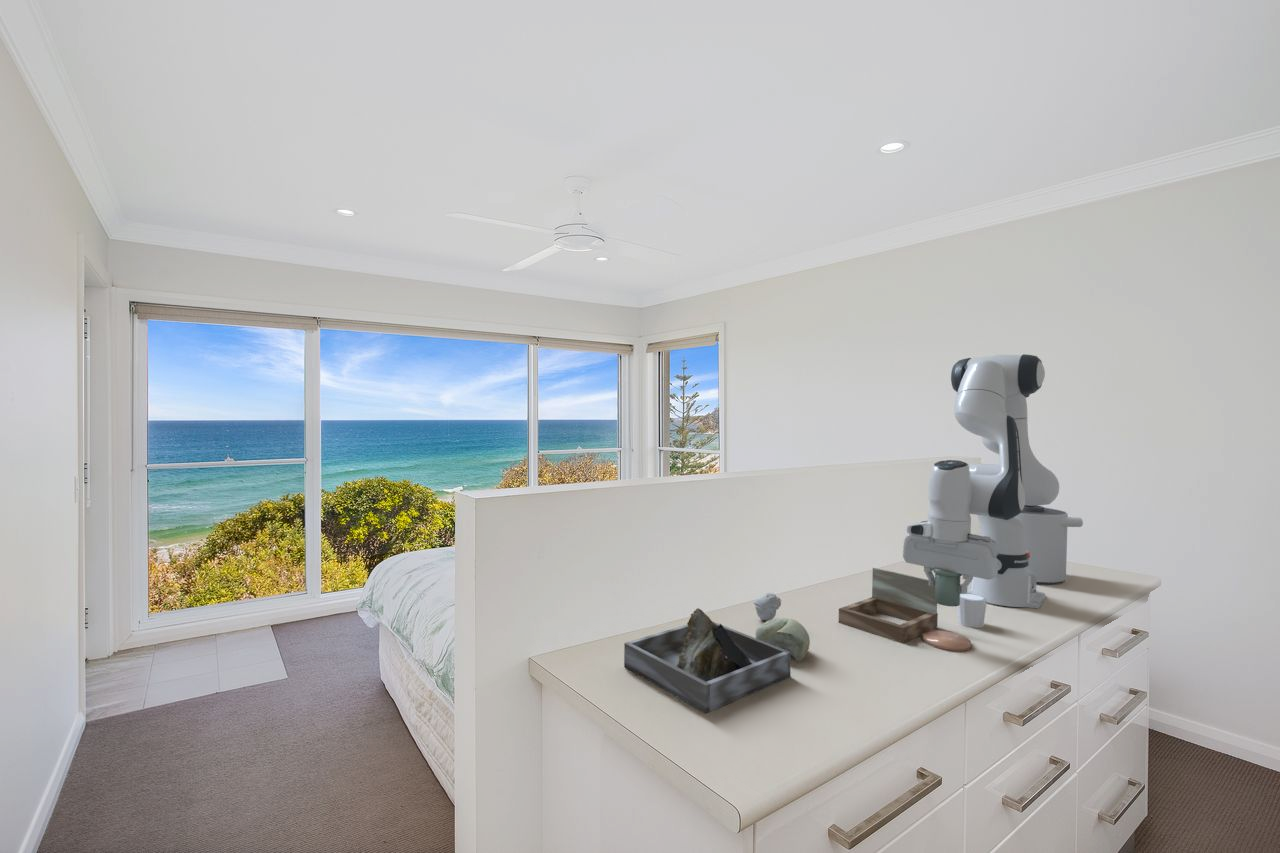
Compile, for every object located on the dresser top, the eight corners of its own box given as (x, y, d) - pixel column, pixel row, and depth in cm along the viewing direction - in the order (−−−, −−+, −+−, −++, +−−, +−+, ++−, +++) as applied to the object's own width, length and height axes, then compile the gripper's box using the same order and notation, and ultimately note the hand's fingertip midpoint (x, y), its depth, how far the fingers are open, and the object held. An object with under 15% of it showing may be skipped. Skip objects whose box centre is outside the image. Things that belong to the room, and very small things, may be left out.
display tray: (706, 640, 138) (706, 618, 138) (790, 676, 119) (790, 652, 119) (624, 666, 123) (624, 643, 123) (705, 713, 104) (706, 685, 104)
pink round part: (934, 631, 145) (934, 627, 145) (978, 644, 137) (978, 639, 137) (914, 640, 139) (914, 636, 139) (959, 654, 131) (959, 650, 131)
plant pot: (939, 597, 142) (940, 563, 142) (966, 603, 137) (967, 569, 137) (927, 601, 138) (928, 567, 138) (954, 608, 133) (955, 573, 133)
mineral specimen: (773, 646, 125) (748, 620, 113) (751, 720, 118) (723, 702, 106) (716, 627, 132) (687, 601, 120) (692, 696, 126) (660, 676, 114)
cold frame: (874, 608, 161) (875, 567, 161) (937, 627, 148) (938, 581, 148) (838, 622, 151) (839, 577, 150) (903, 643, 137) (904, 594, 137)
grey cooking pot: (1043, 568, 206) (1045, 502, 205) (1082, 586, 185) (1085, 512, 184) (978, 566, 208) (980, 500, 207) (1010, 583, 187) (1012, 510, 186)
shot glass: (990, 629, 147) (991, 601, 146) (960, 627, 148) (961, 599, 148) (980, 620, 153) (981, 593, 153) (951, 618, 155) (952, 591, 155)
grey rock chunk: (781, 625, 148) (781, 598, 148) (752, 623, 150) (753, 595, 149) (781, 617, 154) (781, 591, 154) (753, 615, 155) (754, 588, 155)
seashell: (747, 617, 133) (775, 602, 139) (747, 649, 134) (774, 633, 140) (796, 639, 123) (823, 622, 129) (795, 674, 124) (822, 655, 131)
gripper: (1003, 536, 131) (1001, 598, 131) (913, 522, 147) (911, 577, 147) (991, 540, 127) (990, 603, 127) (900, 525, 143) (898, 581, 143)
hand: (947, 589), depth 138 cm, fingers closed on plant pot, 5 cm apart
